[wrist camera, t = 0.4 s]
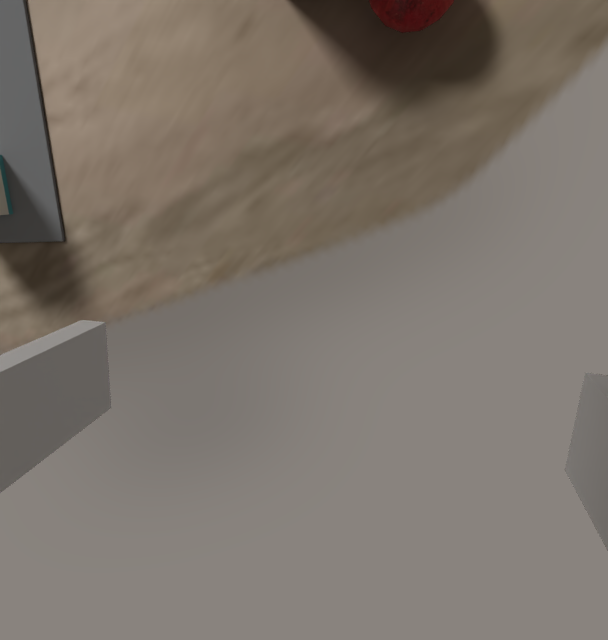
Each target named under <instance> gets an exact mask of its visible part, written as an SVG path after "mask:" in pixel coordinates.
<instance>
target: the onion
mask: <svg viewBox="0 0 608 640" xmlns="http://www.w3.org/2000/svg"><path fill="white" fill-rule="evenodd" d="M369 2H370V5H371V8H372V10H373V11H374V12H375V13H376V14H377V16H378V17H379V18H380V20H381V21H382V22H383V23H384V25H385V26H387V27H390V28H392V29H395V30H397V31H399V32H402V33H404V32H413V31H421V30H423V29H424V28H426V27H428V26H429V25H431V24H433V23H434V22H436V21H437V20H439V19H440V18H441V17H442V16H443V14H444V13H445V12H446V11H447V10H448V8H449V7H450V6H451V5H452V4H453V2H454V0H369Z"/></svg>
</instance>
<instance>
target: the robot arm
mask: <svg viewBox="0 0 608 640" xmlns="http://www.w3.org/2000/svg"><path fill="white" fill-rule="evenodd" d="M110 408H111V397H110V383H109V367H108V352H107V336H106V322H98V321H88V320H81V321H78V322H76V323H74V324H71V325H69V326H67V327H64V328H62V329H60V330H57V331H55V332H53V333H50V334H48V335H46V336H43V337H41V338H39V339H37V340H34V341H32V342H30V343H27V344H25V345H23V346H20V347H18V348H16V349H13V350H11V351H9V352H6V353H4V354H2V355H0V492H2V491H3V490H5V489H6V488H7V487H9V486H10V485H11V484H12V483H14V482H15V481H16V480H18V479H19V478H20V477H22V476H23V475H24V474H25V473H27V472H28V471H29V470H31V469H32V468H33V467H35V466H36V465H37V464H39V463H40V462H41V461H42V460H44V459H45V458H46V457H48V456H49V455H50V454H52V453H53V452H54V451H55V450H57V449H58V448H59V447H60V446H62V445H63V444H65V443H66V442H67V441H69V440H70V439H71V438H72V437H74V436H75V435H76V434H78V433H79V432H80V431H82V430H83V429H84V428H85V427H87V426H88V425H89V424H91V423H92V422H93V421H95V420H96V419H97V418H98V417H100V416H101V415H102V414H103V413H105V412H106V411H108V410H109V409H110ZM565 471H566V473H567V475H568V477H569V479H570V481H571V483H572V484H573V486H574V488H575V490H576V492H577V494H578V496H579V498H580V500H581V501H582V503H583V505H584V507H585V509H586V511H587V513H588V514H589V516H590V518H591V520H592V522H593V524H594V526H595V528H596V530H597V531H598V533H599V535H600V537H601V539H602V541H603V543H604V545H605V547H606V548H607V550H608V375H602V374H591V373H585V376H584V381H583V385H582V390H581V395H580V400H579V405H578V410H577V415H576V419H575V424H574V429H573V433H572V438H571V443H570V448H569V453H568V457H567V462H566V467H565Z"/></svg>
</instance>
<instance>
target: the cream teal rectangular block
mask: <svg viewBox="0 0 608 640" xmlns="http://www.w3.org/2000/svg"><path fill="white" fill-rule="evenodd" d="M9 214H13V210H12V205H11V199H10V194H9V189H8V183H7V178H6V173H5V167H4V162H3V157H2V155H0V215H9Z"/></svg>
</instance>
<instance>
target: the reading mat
mask: <svg viewBox="0 0 608 640" xmlns="http://www.w3.org/2000/svg"><path fill="white" fill-rule="evenodd" d="M0 155H2V157H3V162H4V167H5V173H6V178H7V183H8V189H9V194H10V199H11V205H12V210H13V214H9V215H0V243H15V242H55V241H65V238H64V232H63V225H62V219H61V213H60V207H59V201H58V195H57V189H56V183H55V177H54V171H53V165H52V158H51V152H50V146H49V140H48V134H47V128H46V122H45V116H44V110H43V104H42V97H41V91H40V85H39V79H38V73H37V67H36V61H35V55H34V49H33V43H32V37H31V30H30V24H29V18H28V12H27V6H26V0H0Z"/></svg>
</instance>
